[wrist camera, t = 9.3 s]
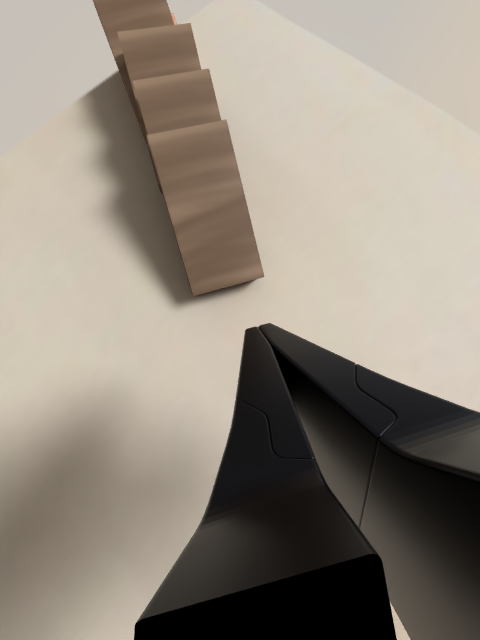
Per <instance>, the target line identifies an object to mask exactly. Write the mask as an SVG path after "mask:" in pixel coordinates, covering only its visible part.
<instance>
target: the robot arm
mask: <svg viewBox="0 0 480 640" xmlns="http://www.w3.org/2000/svg"><path fill="white" fill-rule="evenodd" d="M390 602H391V604H392V606H393V607H394V609H395V611H396V613H397V615H398V617H399V619H400V620H401V622H402V624H403V626H404V628H405V630H406V632H407V633H408V635H409V637H410V639H411V640H480V412H477V411H474V410H471V409H468V408H465V407H463V406H460V405H457V404H455V403H452V402H449V401H447V400H444V399H441V398H439V397H436V396H433V395H431V394H428V393H425V392H423V391H420V390H417V389H415V388H412V387H410V386H407V385H405V384H402V383H400V382H397V381H395V380H392V379H389V378H387V377H385V376H383V375H380V374H378V373H376V372H374V371H371V370H369V369H367V368H365V367H363V366H361V365H358V364H357V365H356V364H355V363H354V362H352V361H350V360H348V359H345V358H343V357H341V356H339V355H337V354H335V353H333V352H331V351H328V350H326V349H324V348H322V347H320V346H318V345H316V344H314V343H311V342H309V341H307V340H305V339H303V338H301V337H299V336H297V335H294V334H292V333H290V332H288V331H286V330H284V329H282V328H280V327H277V326H275V325H273V324H271V323H268V324H264V325H260V326H259V327H252V328H248V329H246V330H245V336H244V343H243V350H242V357H241V365H240V372H239V379H238V386H237V394H236V401H235V407H234V413H233V419H232V424H231V429H230V433H229V436H228V440H227V444H226V447H225V451H224V454H223V457H222V461H221V464H220V467H219V471H218V474H217V477H216V480H215V484H214V487H213V490H212V494H211V497H210V500H209V503H208V506H207V508H206V511H205V513H204V516H203V518H202V520H201V523H200V524H199V526H198V528H197V530H196V532H195V533H194V535H193V536H192V538H191V539H190V541H189V543H188V544H187V546H186V547H185V549H184V550H183V552H182V553H181V555H180V556H179V558H178V559H177V561H176V563H175V564H174V566H173V567H172V569H171V570H170V572H169V573H168V575H167V576H166V578H165V580H164V581H163V583H162V584H161V586H160V587H159V589H158V590H157V592H156V593H155V595H154V596H153V598H152V600H151V601H150V603H149V604H148V606H147V607H146V609H145V610H144V612H143V613H142V615H141V617H140V618H139V620H138V621H137V623H136V624H135V635H134V640H397V639H396V634H395V628H394V623H393V617H392V612H391V606H390Z"/></svg>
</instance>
